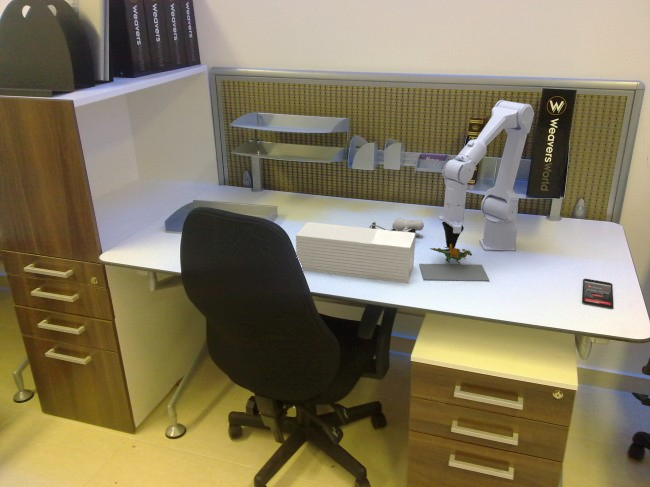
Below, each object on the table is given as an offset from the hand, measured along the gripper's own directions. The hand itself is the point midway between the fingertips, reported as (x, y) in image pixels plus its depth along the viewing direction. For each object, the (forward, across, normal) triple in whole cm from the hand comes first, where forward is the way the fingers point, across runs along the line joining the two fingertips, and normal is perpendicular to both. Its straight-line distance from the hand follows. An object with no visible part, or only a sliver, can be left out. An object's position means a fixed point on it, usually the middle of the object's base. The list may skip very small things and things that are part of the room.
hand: (450, 247), depth 166 cm
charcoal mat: (+5, +6, 0) cm, 8 cm away
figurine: (+4, -1, 0) cm, 5 cm away
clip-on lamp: (+5, -20, -15) cm, 25 cm away
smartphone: (+6, +18, +36) cm, 40 cm away
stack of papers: (+6, +4, -27) cm, 28 cm away
